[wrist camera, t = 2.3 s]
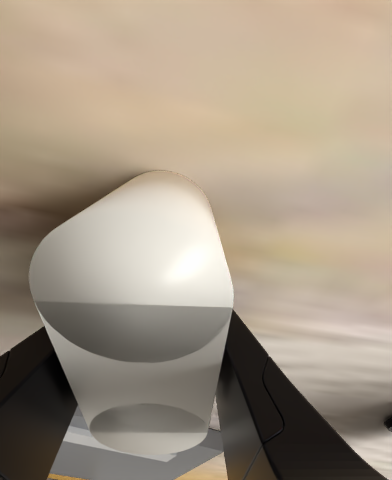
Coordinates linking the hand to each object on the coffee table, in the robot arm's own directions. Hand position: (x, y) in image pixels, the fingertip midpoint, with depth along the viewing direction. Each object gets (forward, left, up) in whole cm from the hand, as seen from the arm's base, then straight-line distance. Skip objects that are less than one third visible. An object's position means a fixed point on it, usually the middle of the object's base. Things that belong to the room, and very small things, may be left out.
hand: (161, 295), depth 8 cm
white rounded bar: (-1, +1, -1) cm, 2 cm away
